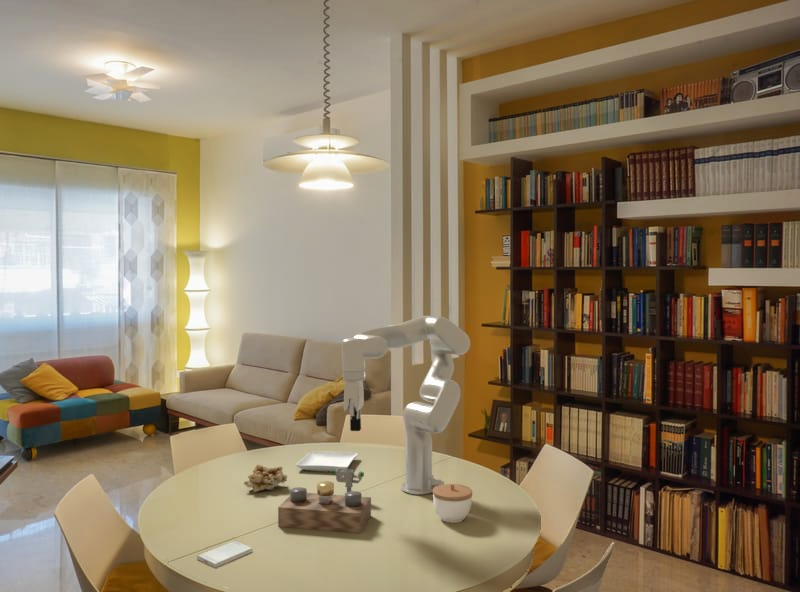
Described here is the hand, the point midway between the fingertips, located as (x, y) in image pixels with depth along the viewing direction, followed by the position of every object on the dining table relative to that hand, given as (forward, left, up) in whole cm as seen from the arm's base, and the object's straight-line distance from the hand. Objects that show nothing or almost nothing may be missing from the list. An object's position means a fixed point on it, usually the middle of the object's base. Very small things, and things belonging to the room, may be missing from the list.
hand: (355, 430), depth 209 cm
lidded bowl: (-32, +2, -26) cm, 42 cm away
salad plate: (+24, -44, -27) cm, 56 cm away
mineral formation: (+37, -13, -27) cm, 47 cm away
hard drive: (+26, +41, -27) cm, 56 cm away
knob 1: (+16, +12, -25) cm, 32 cm away
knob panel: (+7, +12, -26) cm, 30 cm away
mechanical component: (+5, -8, -26) cm, 28 cm away
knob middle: (+7, +12, -22) cm, 26 cm away
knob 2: (-2, +12, -25) cm, 28 cm away
